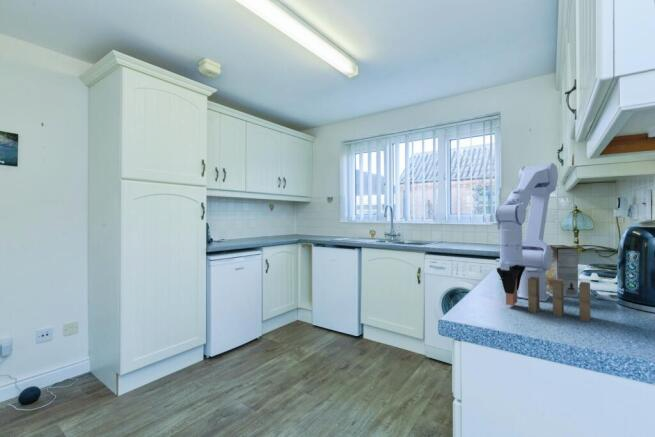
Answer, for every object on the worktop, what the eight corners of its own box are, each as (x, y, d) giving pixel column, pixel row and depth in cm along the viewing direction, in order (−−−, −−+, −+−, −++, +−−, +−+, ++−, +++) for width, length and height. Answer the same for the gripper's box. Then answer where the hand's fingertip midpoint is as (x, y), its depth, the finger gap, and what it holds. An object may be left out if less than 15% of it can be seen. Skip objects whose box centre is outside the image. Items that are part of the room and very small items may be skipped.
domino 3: (555, 311, 84) (555, 278, 84) (563, 312, 83) (563, 279, 83) (552, 315, 81) (552, 281, 81) (561, 317, 79) (560, 282, 79)
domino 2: (532, 307, 88) (531, 276, 88) (539, 308, 87) (539, 277, 87) (528, 311, 85) (527, 279, 84) (536, 312, 83) (535, 280, 83)
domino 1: (510, 300, 92) (510, 270, 92) (517, 301, 91) (516, 271, 91) (506, 304, 88) (505, 273, 88) (513, 305, 87) (512, 274, 87)
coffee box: (543, 289, 108) (542, 244, 108) (563, 290, 107) (563, 244, 107) (557, 296, 99) (556, 247, 99) (579, 297, 98) (579, 247, 98)
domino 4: (581, 315, 81) (581, 281, 80) (590, 316, 79) (589, 282, 79) (579, 320, 77) (579, 284, 77) (589, 321, 76) (588, 285, 76)
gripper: (502, 242, 97) (503, 285, 98) (488, 246, 87) (489, 294, 87) (528, 243, 93) (529, 288, 93) (516, 247, 82) (517, 298, 82)
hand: (511, 291), depth 90 cm, fingers closed on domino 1, 5 cm apart
